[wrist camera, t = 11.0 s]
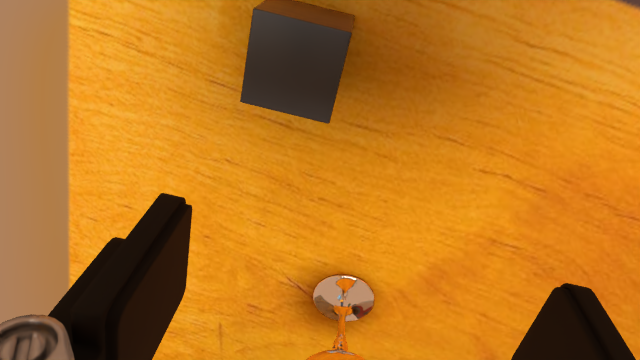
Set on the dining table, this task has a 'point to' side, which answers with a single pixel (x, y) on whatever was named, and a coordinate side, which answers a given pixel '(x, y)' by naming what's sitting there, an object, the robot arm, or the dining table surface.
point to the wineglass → (342, 310)
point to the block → (296, 58)
